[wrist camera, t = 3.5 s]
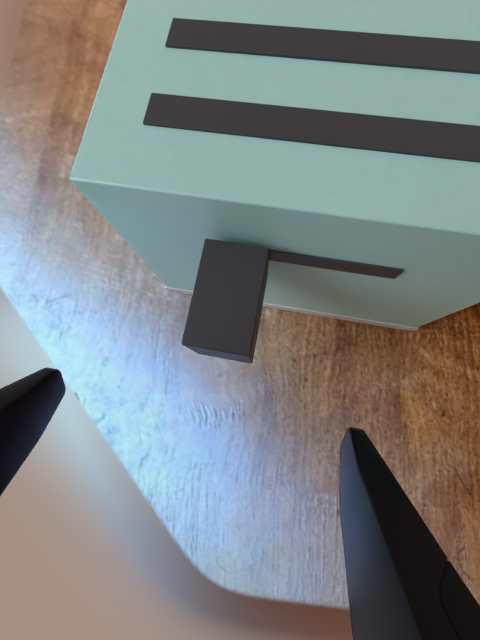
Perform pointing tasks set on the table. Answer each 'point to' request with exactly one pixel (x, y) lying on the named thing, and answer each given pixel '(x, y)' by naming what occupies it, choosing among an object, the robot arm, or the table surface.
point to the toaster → (298, 148)
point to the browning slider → (227, 300)
